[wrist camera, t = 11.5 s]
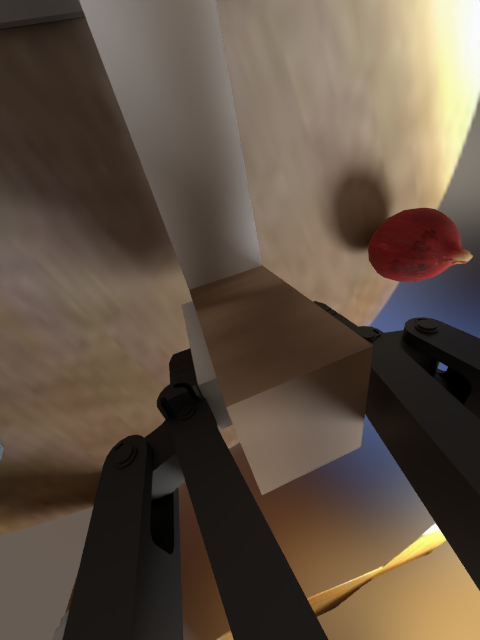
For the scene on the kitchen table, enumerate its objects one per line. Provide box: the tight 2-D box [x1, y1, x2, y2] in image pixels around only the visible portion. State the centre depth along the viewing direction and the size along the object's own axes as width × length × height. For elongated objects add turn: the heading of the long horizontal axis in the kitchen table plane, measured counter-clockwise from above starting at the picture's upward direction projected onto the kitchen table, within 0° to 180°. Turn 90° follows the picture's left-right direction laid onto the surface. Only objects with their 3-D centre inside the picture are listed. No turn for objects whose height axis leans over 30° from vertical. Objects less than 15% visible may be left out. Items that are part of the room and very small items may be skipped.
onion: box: [368, 208, 473, 282], centre depth 19 cm, size 6×6×8 cm
